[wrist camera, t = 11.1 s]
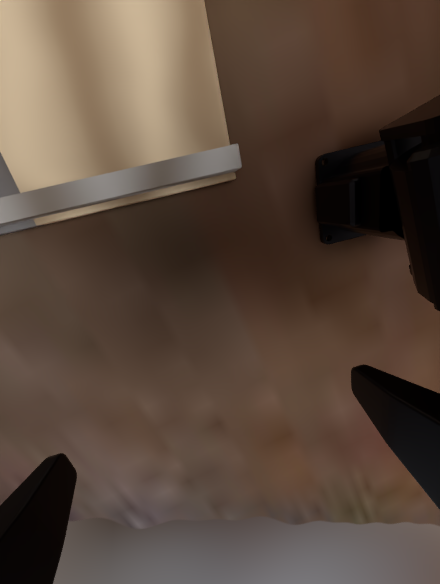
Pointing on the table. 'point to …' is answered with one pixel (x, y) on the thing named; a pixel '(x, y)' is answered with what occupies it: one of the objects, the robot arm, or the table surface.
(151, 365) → the table surface
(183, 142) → the board
